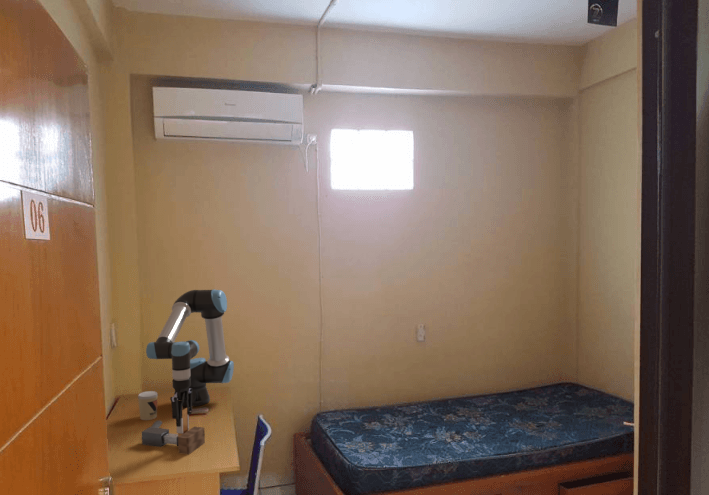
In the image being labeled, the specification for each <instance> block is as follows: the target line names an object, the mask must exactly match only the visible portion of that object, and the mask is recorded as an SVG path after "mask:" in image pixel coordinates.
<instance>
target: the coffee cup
mask: <svg viewBox="0 0 709 495" xmlns="http://www.w3.org/2000/svg"><path fill="white" fill-rule="evenodd" d="M158 395H159V394H158V392H157V391H155V390H154V391H153V390H149V391H142V392H140V393H139V394H138V395H137V401H138V402H137V403H138V410H139V411H138V412H139V418H140V420H142V421H149V420H154V419H156V418H157V416H158Z"/></svg>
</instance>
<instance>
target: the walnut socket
mask: <svg viewBox="0 0 709 495" xmlns="http://www.w3.org/2000/svg"><path fill="white" fill-rule="evenodd" d="M205 434H206V433H205V427H204V426H203V427H202V426H192V427H191V428H189V430H188V431H187V432H185V433H184V434H182V435H181V436H179V437H178V446H179V447H178V446H177V447H178V453H179V454H183V455H188V456H189V455H190V454H192V453H193V452H195V451H196V450H197V449H199V448H200V447H201V446H203V445H205V444H206V442H205V441H206V440H205V439H206V438H205V437H206V436H205Z"/></svg>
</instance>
